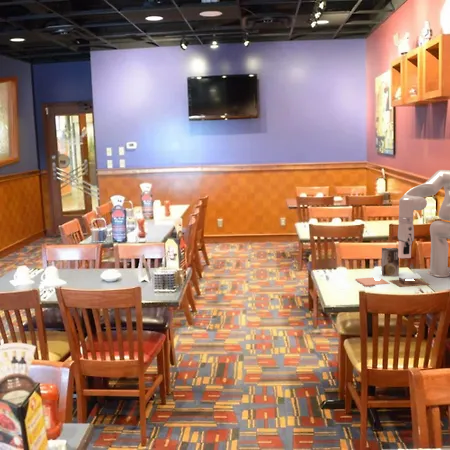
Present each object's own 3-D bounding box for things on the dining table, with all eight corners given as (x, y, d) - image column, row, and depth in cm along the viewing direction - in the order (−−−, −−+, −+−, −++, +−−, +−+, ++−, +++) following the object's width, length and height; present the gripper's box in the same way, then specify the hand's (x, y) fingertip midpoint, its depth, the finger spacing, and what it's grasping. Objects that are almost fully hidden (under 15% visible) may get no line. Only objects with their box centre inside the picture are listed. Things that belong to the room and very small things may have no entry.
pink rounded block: (408, 256, 333) (408, 240, 332) (410, 257, 330) (411, 241, 329) (398, 257, 332) (398, 241, 331) (400, 258, 329) (401, 242, 328)
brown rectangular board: (417, 279, 342) (417, 274, 341) (430, 286, 328) (430, 280, 328) (388, 282, 338) (388, 276, 338) (399, 288, 325) (400, 282, 324)
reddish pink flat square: (378, 278, 346) (378, 277, 346) (389, 285, 332) (389, 283, 332) (355, 280, 343) (355, 278, 343) (365, 286, 330) (365, 285, 329)
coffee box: (396, 274, 354) (397, 247, 351) (398, 277, 348) (399, 250, 345) (380, 274, 355) (381, 247, 352) (382, 277, 349) (383, 249, 346)
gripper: (419, 222, 321) (418, 256, 324) (404, 217, 336) (403, 250, 339) (407, 222, 319) (405, 256, 322) (392, 218, 335) (391, 250, 338)
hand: (404, 253), depth 331 cm, fingers closed on pink rounded block, 2 cm apart
